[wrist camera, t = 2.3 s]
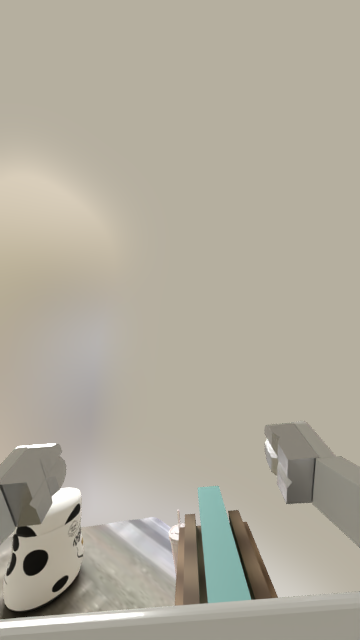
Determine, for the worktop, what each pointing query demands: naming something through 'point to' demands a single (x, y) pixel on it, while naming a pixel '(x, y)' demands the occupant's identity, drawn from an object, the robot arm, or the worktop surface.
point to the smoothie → (175, 539)
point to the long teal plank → (220, 550)
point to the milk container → (45, 555)
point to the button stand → (193, 566)
